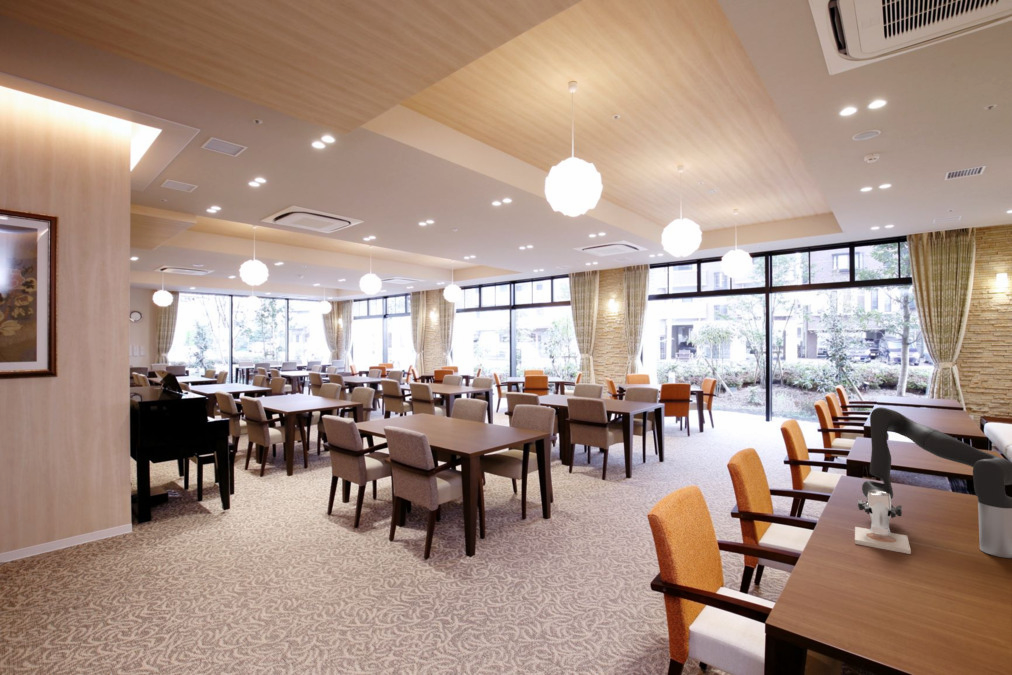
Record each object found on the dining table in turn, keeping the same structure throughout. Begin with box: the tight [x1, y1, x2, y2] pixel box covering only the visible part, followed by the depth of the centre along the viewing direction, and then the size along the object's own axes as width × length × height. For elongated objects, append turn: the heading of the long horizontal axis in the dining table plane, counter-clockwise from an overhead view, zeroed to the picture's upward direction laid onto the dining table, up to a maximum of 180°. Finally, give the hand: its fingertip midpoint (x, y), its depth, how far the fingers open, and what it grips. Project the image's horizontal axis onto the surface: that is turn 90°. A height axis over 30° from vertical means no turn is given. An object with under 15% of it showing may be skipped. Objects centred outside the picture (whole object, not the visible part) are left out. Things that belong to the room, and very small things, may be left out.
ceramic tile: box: [854, 526, 912, 555], centre depth 179 cm, size 16×16×2 cm
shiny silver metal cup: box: [868, 490, 892, 536], centre depth 180 cm, size 7×7×15 cm
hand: (880, 513), depth 178 cm, fingers closed on shiny silver metal cup, 6 cm apart
